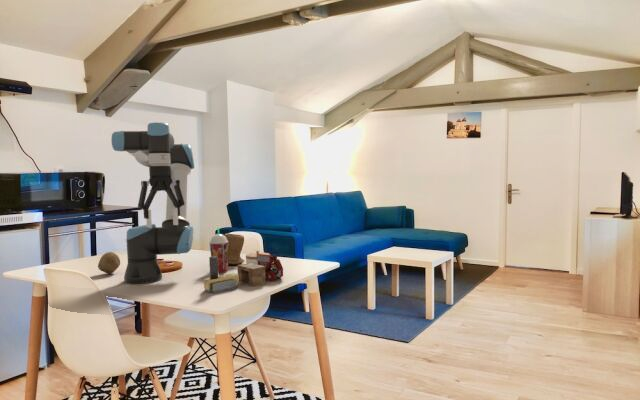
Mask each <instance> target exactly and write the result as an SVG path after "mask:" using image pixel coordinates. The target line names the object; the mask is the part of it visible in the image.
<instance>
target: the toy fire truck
mask: <svg viewBox="0 0 640 400" xmlns="http://www.w3.org/2000/svg"><path fill="white" fill-rule="evenodd" d="M257 261H258V265H261V266H265V280H266V281H268V282H273V281H275V280H276V279H277V280H279V279H281V278H283V277H284V267H283V265H282V263H281V261H280V259H279V258H278V256H277V255H276V254H273V255H271V254H270V255H265V254H258V255H257Z"/></svg>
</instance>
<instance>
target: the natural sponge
mask: <svg viewBox="0 0 640 400" xmlns="http://www.w3.org/2000/svg"><path fill="white" fill-rule="evenodd" d="M120 266H121V259H120V256H119V255H118V254H116V253H115V252H112V251H109V252H108V251H107V252H106V253H104V254H103V255H102V256H101V257H100V259H99V262H98V264H97V267H98V271H101V272H103V273H105V274H107V273H111V274H113V273H114V272H116V271H117V269H118V268H119V267H120Z"/></svg>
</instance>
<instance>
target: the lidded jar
mask: <svg viewBox="0 0 640 400" xmlns="http://www.w3.org/2000/svg"><path fill="white" fill-rule="evenodd" d="M258 254H265V255H271V254H270V253H269V252H260V251H259V250H256V252H251V253H247V254H245V262H246V263H245V264H247V263H252V264H256V265H258V261H257V255H258Z"/></svg>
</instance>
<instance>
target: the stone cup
mask: <svg viewBox="0 0 640 400" xmlns="http://www.w3.org/2000/svg"><path fill="white" fill-rule="evenodd" d="M223 235H224V236H225V237H226V238H227V240H228V265H241V264H244V263H245V260H244V259H243V258H241V253H242V250H243V247H244V244H245V236H244V235H243V234H242V235H241V234H234V233H225V234H223Z"/></svg>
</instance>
